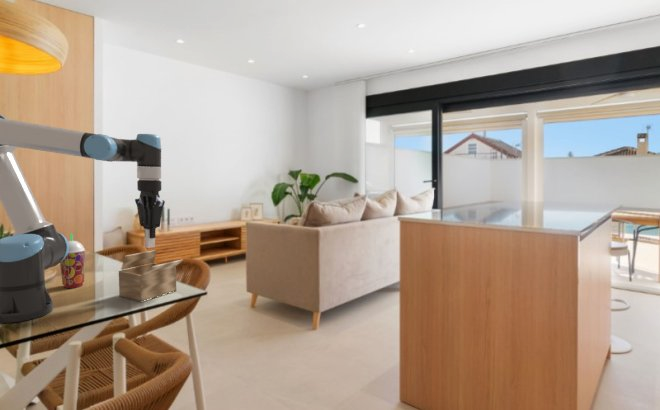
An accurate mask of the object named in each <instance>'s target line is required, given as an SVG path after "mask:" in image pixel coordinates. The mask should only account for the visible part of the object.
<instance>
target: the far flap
mask: <svg viewBox="0 0 660 410" xmlns="http://www.w3.org/2000/svg"><path fill="white" fill-rule="evenodd" d="M157 253H158V249H154V250H148V251H143V252H137V253H133V254H127V255H125V256H124V258H123V262H122V264H121V267H120V271H121V270H126V269H130V268H134V267H139V266H143V265H148V264H152V263H154V262H155V258H156V255H157Z"/></svg>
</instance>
